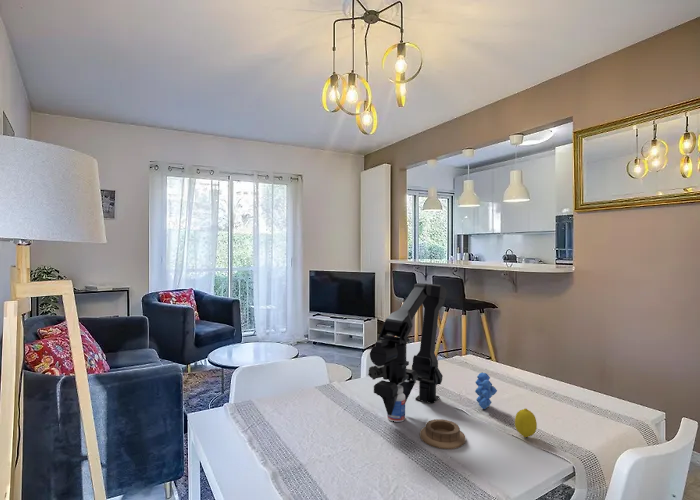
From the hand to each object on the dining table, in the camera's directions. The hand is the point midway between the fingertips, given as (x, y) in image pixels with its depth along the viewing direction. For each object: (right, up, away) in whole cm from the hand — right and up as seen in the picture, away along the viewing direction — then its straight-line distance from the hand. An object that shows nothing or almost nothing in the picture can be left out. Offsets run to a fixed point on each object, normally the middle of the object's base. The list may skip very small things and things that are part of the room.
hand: (396, 409), depth 122 cm
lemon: (+34, -3, -11) cm, 36 cm away
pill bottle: (0, -3, 0) cm, 3 cm away
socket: (+11, -3, -12) cm, 17 cm away
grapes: (+30, -3, +8) cm, 31 cm away
